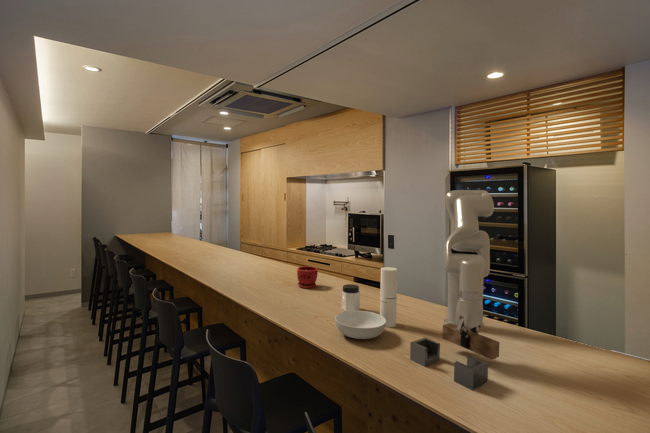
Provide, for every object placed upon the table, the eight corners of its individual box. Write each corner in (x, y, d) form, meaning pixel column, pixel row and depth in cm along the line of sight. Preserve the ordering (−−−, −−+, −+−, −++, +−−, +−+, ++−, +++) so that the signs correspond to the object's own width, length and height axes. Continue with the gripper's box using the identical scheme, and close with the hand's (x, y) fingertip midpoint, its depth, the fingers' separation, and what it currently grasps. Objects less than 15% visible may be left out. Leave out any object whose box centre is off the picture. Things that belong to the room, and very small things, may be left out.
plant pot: (294, 288, 210) (294, 269, 210) (299, 283, 223) (299, 265, 223) (315, 289, 208) (315, 270, 208) (319, 284, 221) (319, 266, 221)
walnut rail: (442, 338, 125) (442, 325, 125) (449, 335, 127) (449, 322, 127) (492, 360, 110) (493, 345, 109) (498, 356, 112) (499, 342, 111)
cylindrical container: (396, 327, 147) (397, 270, 145) (379, 326, 148) (380, 270, 147) (396, 322, 154) (397, 267, 152) (380, 320, 155) (381, 266, 154)
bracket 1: (410, 359, 117) (410, 342, 117) (424, 353, 122) (425, 337, 122) (424, 366, 112) (425, 348, 112) (439, 360, 117) (439, 343, 117)
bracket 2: (487, 382, 103) (488, 363, 102) (472, 390, 98) (473, 370, 98) (468, 373, 108) (469, 355, 108) (453, 381, 103) (454, 362, 103)
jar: (339, 307, 173) (339, 284, 173) (353, 306, 176) (353, 283, 176) (347, 313, 165) (347, 289, 164) (362, 311, 168) (362, 287, 168)
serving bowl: (373, 350, 125) (373, 331, 124) (325, 337, 136) (325, 320, 135) (393, 332, 142) (393, 315, 142) (349, 322, 153) (349, 307, 153)
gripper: (474, 287, 125) (472, 335, 126) (446, 296, 115) (445, 347, 117) (494, 292, 119) (492, 342, 120) (466, 302, 109) (464, 356, 111)
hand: (469, 344), depth 118 cm, fingers closed on walnut rail, 4 cm apart
